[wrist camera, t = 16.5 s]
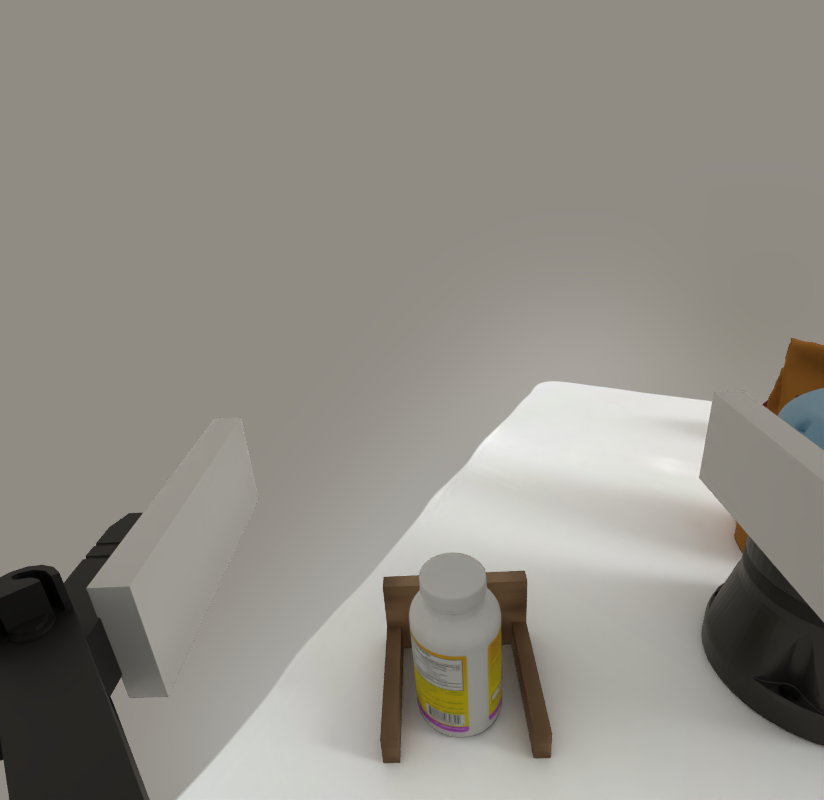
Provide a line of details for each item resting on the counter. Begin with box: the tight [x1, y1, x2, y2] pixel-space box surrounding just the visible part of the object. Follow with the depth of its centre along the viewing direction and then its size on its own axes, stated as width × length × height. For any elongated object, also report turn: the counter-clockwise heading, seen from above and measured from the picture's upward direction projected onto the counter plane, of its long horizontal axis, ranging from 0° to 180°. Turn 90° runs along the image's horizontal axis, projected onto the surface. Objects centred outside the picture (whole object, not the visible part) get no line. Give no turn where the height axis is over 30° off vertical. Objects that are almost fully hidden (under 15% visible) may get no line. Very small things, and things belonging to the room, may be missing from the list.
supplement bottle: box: [409, 553, 502, 737], centre depth 41 cm, size 7×7×13 cm
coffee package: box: [734, 338, 824, 553], centre depth 53 cm, size 10×12×22 cm
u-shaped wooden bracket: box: [380, 571, 552, 763], centre depth 43 cm, size 12×11×7 cm
